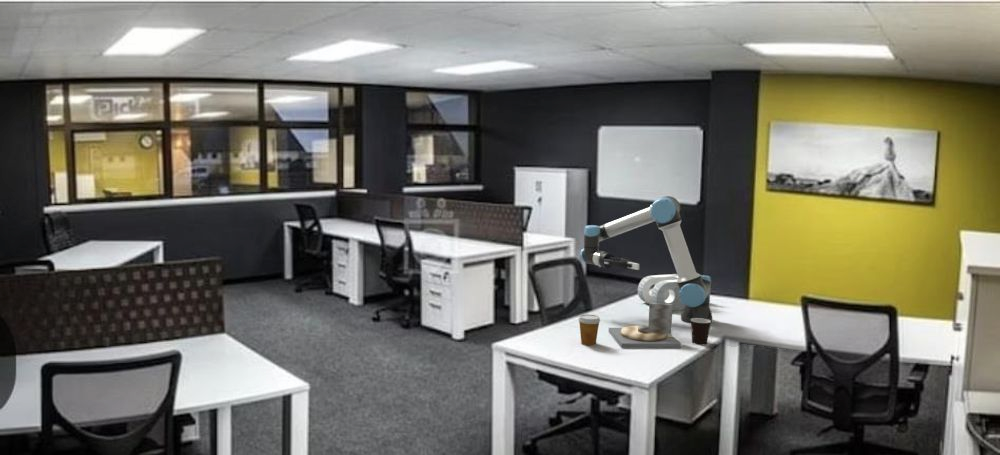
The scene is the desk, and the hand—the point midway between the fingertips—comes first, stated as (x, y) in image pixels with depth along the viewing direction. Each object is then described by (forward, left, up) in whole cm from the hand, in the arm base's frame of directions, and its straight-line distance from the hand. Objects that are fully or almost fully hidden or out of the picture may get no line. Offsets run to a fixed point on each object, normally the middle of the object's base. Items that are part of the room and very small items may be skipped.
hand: (638, 266), depth 334 cm
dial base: (+1, +17, -30) cm, 35 cm away
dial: (0, +17, -28) cm, 33 cm away
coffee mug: (-24, +21, -30) cm, 44 cm away
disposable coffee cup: (+27, +23, -30) cm, 47 cm away
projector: (-34, -51, -30) cm, 68 cm away
